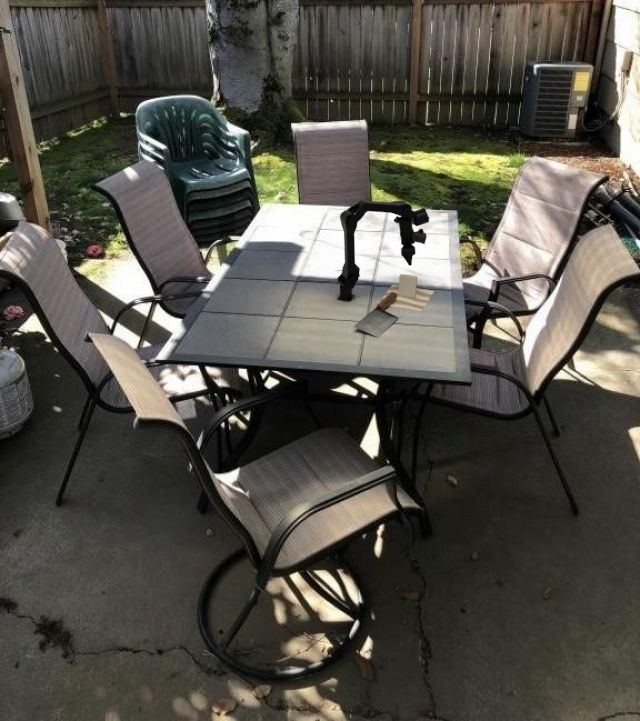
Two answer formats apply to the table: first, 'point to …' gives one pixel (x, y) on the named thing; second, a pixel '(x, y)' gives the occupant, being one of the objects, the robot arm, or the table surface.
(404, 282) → the tile
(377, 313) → the meat cleaver
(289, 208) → the table surface
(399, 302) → the board
